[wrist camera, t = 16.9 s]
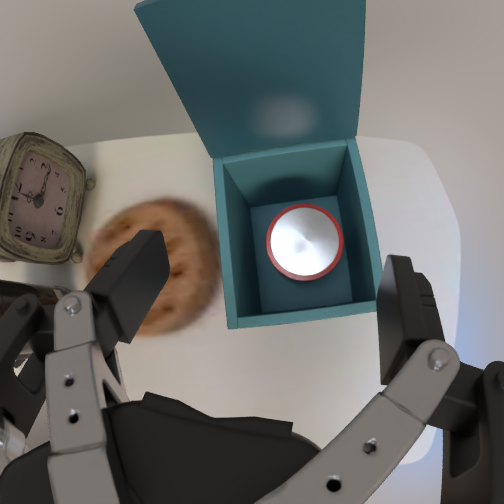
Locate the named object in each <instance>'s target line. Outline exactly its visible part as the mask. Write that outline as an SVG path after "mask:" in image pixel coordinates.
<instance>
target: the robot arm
mask: <svg viewBox="0 0 504 504" xmlns="http://www.w3.org/2000/svg"><path fill="white" fill-rule="evenodd" d="M169 271H170V265H169V260H168V256H167V251H166V246H165V242H164V237H163V234H162V232H161V231H154V230H143V229H142V230H140V231H139V232H138V233H137V234H136V235H135V237H134V238H133V239H132V240H131V241H128V242H127V243H125V244H124V245H122V246H121V247H119V248H118V249H117V250H116V251H115V252H114V253H113V254H112V256H111V257H110V259H108V260H107V262H106V263H105V264H104V266H103V267H102V268H101V269H100V270H99V271H98V273H97V274H96V275H95V276H94V278H93V279H92V280H91V281H90V283H89V284H88V285H87V286H86V288H85V289H84V290H83V291H73V292H70V291H69V290H68V289H66V288H64V287H57V286H54V287H52V286H44V285H36V284H28V283H21V282H13V281H6V280H0V504H364V503H365V502H366V501H367V500H368V498H369V497H370V496H371V495H372V494H373V493H374V492H375V491H376V490H377V489H378V487H379V486H380V485H381V484H382V483H383V482H384V481H385V479H386V478H387V477H388V476H389V475H390V474H391V472H392V471H393V470H394V469H395V468H396V466H397V465H398V464H399V463H400V461H401V460H402V459H403V458H404V456H405V455H406V454H407V452H408V451H409V450H410V448H411V447H412V446H413V444H414V443H415V442H416V440H417V439H418V438H419V436H420V435H421V433H422V432H423V430H424V429H425V427H426V424H428V425H431V426H434V427H437V428H440V429H443V469H442V489H441V503H440V504H504V362H502V361H494V362H491V363H490V364H488V366H487V367H486V368H485V369H484V370H482V369H479V368H476V367H473V366H470V365H467V364H465V363H462V362H461V361H460V360H459V357H458V354H457V352H456V351H455V350H454V348H453V347H452V346H450V345H449V344H447V343H446V342H445V338H444V334H443V329H442V325H441V321H440V317H439V313H438V309H437V307H436V302H435V298H434V294H433V291H432V287H431V284H430V282H429V281H428V280H427V279H426V277H425V276H424V275H423V274H422V273H417V272H414V270H413V266H412V262H411V259H410V257H407V256H398V255H388V256H387V259H386V262H385V266H384V270H383V273H382V277H381V280H380V284H379V287H378V292H377V299H376V309H377V321H378V335H379V352H380V377H381V385H388V386H387V387H386V388H385V389H384V390H383V391H382V392H379V393H377V394H376V395H375V396H374V397H373V399H372V400H371V401H370V402H369V403H368V404H367V405H366V406H365V407H364V408H363V409H362V411H361V412H360V413H359V414H358V415H357V416H356V417H355V418H354V419H353V420H352V421H351V422H350V423H349V424H348V425H347V426H346V427H345V428H344V429H343V430H342V431H341V432H340V433H339V434H338V435H337V436H336V437H335V438H334V439H333V440H332V441H331V442H330V443H329V444H328V445H327V446H326V447H325V448H324V449H321V448H319V447H318V446H317V445H316V444H315V443H313V442H312V441H310V440H309V439H307V438H305V437H303V436H301V435H299V434H297V433H294V432H292V426H293V422H287V421H280V420H273V419H267V418H260V417H231V418H213V417H210V416H208V415H206V414H204V413H202V412H200V411H198V410H196V409H194V408H192V407H190V406H188V405H186V404H184V403H183V402H181V401H179V400H175V399H172V398H168V397H164V396H161V395H157V394H153V393H150V392H147V391H146V393H145V395H144V397H143V399H142V400H139V401H130V400H129V398H128V396H127V393H126V390H125V386H124V382H123V377H122V373H121V368H120V364H119V359H118V354H117V350H116V348H115V345H116V344H117V342H118V341H120V342H124V343H128V344H130V343H131V341H132V339H133V337H134V336H135V334H136V332H137V330H138V329H139V327H140V325H141V323H142V322H143V320H144V318H145V317H146V315H147V313H148V311H149V310H150V308H151V306H152V305H153V303H154V301H155V300H156V298H157V296H158V294H159V293H160V291H161V289H162V288H163V286H164V284H165V283H166V281H167V279H168V276H169ZM27 358H28V360H27V362H26V363H25V365H24V367H23V368H22V370H21V372H20V373H19V375H18V377H17V376H16V375H15V373H14V367H15V368H18V367H19V366H20V365H21V364H22V363H23V362H24V361H25V360H26V359H27ZM15 360H17V361H16V362H15ZM45 399H46V401H47V414H48V425H49V435H50V441H48V442H46V443H44V444H42V445H40V446H38V447H36V448H34V449H33V450H31V451H29V449H28V448H27V447H26V438H27V436H28V434H29V432H30V429H31V428H32V425H33V423H34V421H35V419H36V417H37V415H38V413H39V411H40V409H41V407H42V405H43V403H44V401H45Z"/></svg>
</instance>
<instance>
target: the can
mask: <svg viewBox="0 0 504 504" xmlns="http://www.w3.org/2000/svg"><path fill="white" fill-rule="evenodd" d="M266 249H267V253H268V256H269V258H270V260H271V262H272V264H273V265H274V267H275V269H276V270H277V272H278V273H279V274H280V275H281V277H283V278H284V279H285V280H287V281H289V282H291V283H294V284H309V283H311V282H314V281H316V280H318V279H319V278H321V277H323V276H325V275H326V274H328V273H329V272H330V271H331V270H332V269H333V268H334V267H335V266H336V265H337V263H338V261H339V260H340V257H341V255H342V251H343V234H342V230H341V228H340V226H339V224H338V222H337V221H336V219H335V218H334V217H333V216H332V215H331V214H330V213H329V212H328V211H326V210H325V209H323V208H321V207H319V206H316V205H312V204H296V205H293V206H290V207H288V208H286V209H284V210H282V211H281V212H280V213H279V214H277V215H276V217H275V218H274V219H273V220H272V222H271V224H270V226H269V228H268V231H267V235H266Z"/></svg>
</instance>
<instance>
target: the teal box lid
mask: <svg viewBox="0 0 504 504" xmlns="http://www.w3.org/2000/svg"><path fill="white" fill-rule="evenodd" d="M134 11H135V13H136V15H137V17H138V19H139V21H140V23H141V25H142V27H143V28H144V30H145V32H146V34H147V36H148V38H149V39H150V42H151V44H152V46H153V48H154V49H155V51H156V53H157V55H158V57H159V59H160V61H161V63H162V65H163V67H164V69H165V70H166V72H167V74H168V76H169V78H170V80H171V82H172V84H173V86H174V87H175V90H176V92H177V93H178V95H179V97H180V99H181V101H182V103H183V105H184V107H185V109H186V111H187V113H188V114H189V117H190V118H191V120H192V122H193V124H194V126H195V128H196V130H197V132H198V134H199V136H200V138H201V140H202V142H203V144H204V146H205V147H206V149H207V151H208V153H209V155H210V157H211V158H214V157H219V156H224V155H229V154H234V153H240V152H246V151H251V150H257V149H263V148H269V147H276V146H282V145H289V144H296V143H303V142H311V141H318V140H327V139H335V138H345V137H354V136H357V127H358V118H359V117H358V116H359V108H360V96H361V85H362V73H363V58H364V39H365V12H366V0H145V1H143V2H140V3H137V4H136V6H135V8H134Z"/></svg>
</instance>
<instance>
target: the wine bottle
mask: <svg viewBox="0 0 504 504" xmlns="http://www.w3.org/2000/svg"><path fill="white" fill-rule="evenodd" d="M15 261H16V260H9V259H2V258H0V262H15Z"/></svg>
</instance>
